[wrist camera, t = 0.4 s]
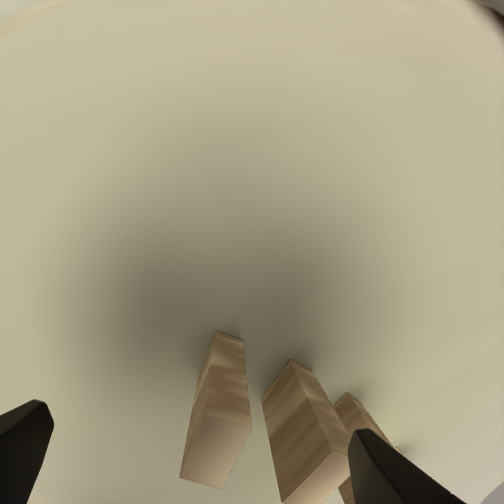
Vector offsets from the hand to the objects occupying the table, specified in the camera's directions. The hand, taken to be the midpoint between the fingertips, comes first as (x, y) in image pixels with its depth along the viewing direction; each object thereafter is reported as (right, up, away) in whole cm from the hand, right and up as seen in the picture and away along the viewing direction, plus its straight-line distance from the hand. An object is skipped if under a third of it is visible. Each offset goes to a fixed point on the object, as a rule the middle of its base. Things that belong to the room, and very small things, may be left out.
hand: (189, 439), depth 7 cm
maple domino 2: (+4, -5, +15) cm, 17 cm away
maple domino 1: (-1, -3, +15) cm, 15 cm away
